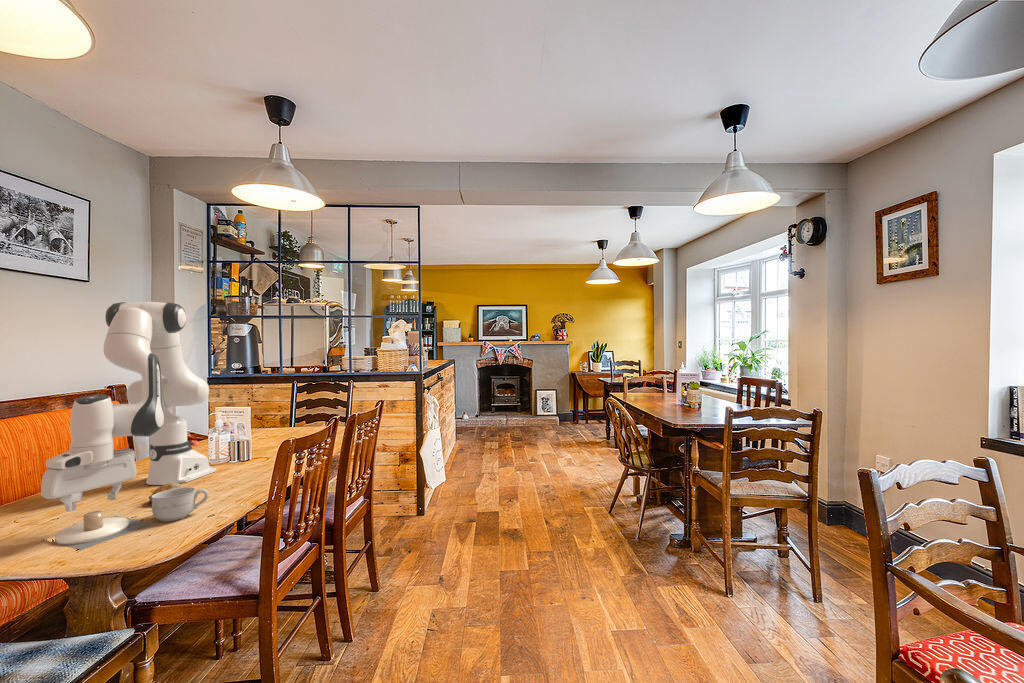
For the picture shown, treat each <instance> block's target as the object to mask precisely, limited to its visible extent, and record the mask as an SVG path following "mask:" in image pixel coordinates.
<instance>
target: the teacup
mask: <svg viewBox="0 0 1024 683" xmlns="http://www.w3.org/2000/svg"><path fill="white" fill-rule="evenodd" d="M200 493H203V494H204V497H203V499H201V500H200V501H198V502H197V503H196V499H197V498H198V495H199V494H200ZM151 495H152V494H151ZM151 495H150V496H151ZM208 497H209V492H208V490H207V489H205V488H204V489H203V488H200V489H198V490H197V489H196V488H195V487H191V486H190V487H185V488H177V489H171V490H166V491H162V492H159V493H156V494H154V495H152V496H151V498H152V505H151V512H152V516H153V517H154V518H155V519H157V520H158V521H160V522H162V523H163V522H164V523H166V522H167V523H169V522H175V521H178V520H183V519H184V518H187V517H188V516H189V515H190V514H191V513H192V512H193V511H194V510H197V508H199V506H201V505H202V504H204V503H205V502H206V501H207V500H208Z"/></svg>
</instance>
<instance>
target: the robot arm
mask: <svg viewBox="0 0 1024 683" xmlns="http://www.w3.org/2000/svg"><path fill="white" fill-rule="evenodd" d="M186 322H187V315H186V311H185V309H184V308H183V307H182V306H181V305H180V304H179V303H175V302H174V303H173V302H161V301H160V302H159V301H133V302H125V301H123V302H116V303H113V304H111V305H110V306H109V307H108V308H107V309H106V312H105V323H106V325H107V326H108V329H107V331H106V336H105V340H104V344H103V354H104V357H105V358H106V359H107V360H108V361H109V362H110V363H112V364H113V365H114V366H117V367H119V368H122V369H124V370H126V371H131V372H134V373H137V374H139V375H140V376H141V379H139V380H134V381H132V382H131V383H130V385H128V388H127V390H126V399H127V401H128V402H129V403H114V402H112V401H113V400H112V398H111V396H109V395H107V394H90V395H85V396H81V397H78V398H77V399H75V400H73V405H72V407H71V411H70V412H71V414H70V422H69V423H70V424H69V428H70V429H69V430H70V433H71V442H70V445H69V447H70V448H69V450H67V451H64V452H63V453H60V454H58V455H55V456H53V457H51V458H49V459H47V460H46V461H45V467H46V468H48V469H46V470H45V472H44V473H43V475H42V478H41V479H42V480H41V485H40V487H41V488H40V494H41V497H43V498H44V499H47V500H55V499H59V500H60V501H61V503H63V504H64V506H65V512H67V513H69V512H73V511H76V510H77V502H74V503H71V502H70V501H69V499H71V494H75V493H79V492H83V493H84V492H86V491H91V490H95V489H99V488H103V487H107V486H111V487H112V489H111V491H110V492H107V500H108V501H113V500H116V499H117V498H118V493H119V491H120V490H121V488H122V486H123V482H127V481H131V480H134V479H135V478H136V476H137V472H138V471H137V465H136V461H135V459H136V452H135V451H134V449H132V448H129V447H125V448H122V449H121V448H120V449H116V450H115V449H114V448H115V446H114V445H115V444H114V443H115V442H114V440H115V439H114V438H119V437H150V445H149V461H150V462H149V463H150V464H149V469H148V474H147V479H146V482H145V484H147V485H150V486H162V485H164V484H167V483H179V484H182V483H188V482H191V481H193V480H196V479H199V478H201V477H204V476H207V475H210V474H212V473H215V472H217V468H216V467H214V466H210V462H209V461H210V460H209V458H208V457H207V456H206V455H205V454H203V453H201V452H200V451H197V450H195V449H193V447H196V446H198V441H197V440H188V422H187V421H186V419H185V418H184V417H182V416H179V415H177V414H175V413H174V412H172V410H171V408H170V407H187V406H188V407H190V406H194V405H199V404H202V403H204V402H205V401H206V400H207V398H208V396H209V394H210V388H209V385H208V383H207V382H206V381H205V380H204V379H203V378H201V377H200V376H198V375H196V374H195V373H194V372H192V371H191V370H190V369H189V367H188V366H187V364H186V362H185V359H184V355H183V354H184V353H183V350H182V343H181V337H180V336H181V335H180V333H179V332H181V330H183V329H184V327H185V326H186ZM162 376H163V377H162ZM192 446H193V447H192Z"/></svg>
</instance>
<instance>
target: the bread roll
mask: <svg viewBox="0 0 1024 683" xmlns="http://www.w3.org/2000/svg"><path fill="white" fill-rule="evenodd" d="M177 488H186V487H185V486H184V485H183V484H182V483H167V484H164V485H159V486H158V487H157V488H156V489H154V491H153V492H152V493H151V494H150V495H149V496H148V499H149V502H148V503H149V505H150V506H152V498H151V496H152V495H154V494H156V493H159V492H162V491H166V490H171V489H177Z"/></svg>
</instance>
